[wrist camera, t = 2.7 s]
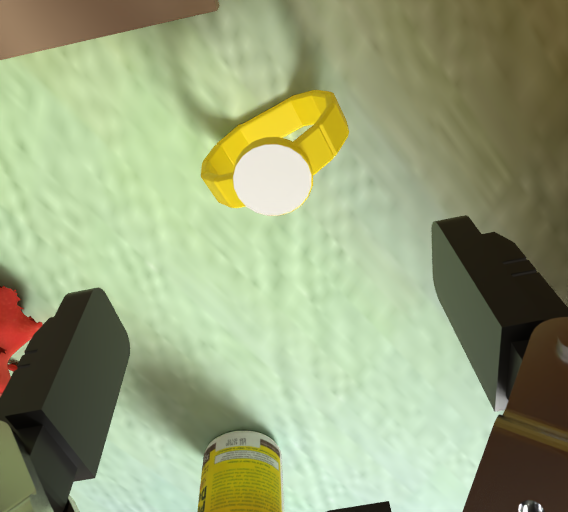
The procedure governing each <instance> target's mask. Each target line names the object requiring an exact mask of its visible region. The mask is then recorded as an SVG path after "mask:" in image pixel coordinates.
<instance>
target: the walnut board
mask: <svg viewBox="0 0 568 512" xmlns="http://www.w3.org/2000/svg"><path fill="white" fill-rule="evenodd" d="M218 8H219V2H218V0H0V60H3V59H7V58H11V57H16V56H20V55H25V54H29V53H33V52H38V51H42V50H46V49H51V48H55V47H60V46H64V45H68V44H73V43H77V42H81V41H86V40H90V39H95V38H99V37H103V36H108V35H112V34H117V33H121V32H125V31H130V30H134V29H138V28H143V27H147V26H152V25H156V24H160V23H165V22H169V21H173V20H178V19H182V18H187V17H191V16H195V15H200V14H204V13H209V12H213V11H217V10H218Z"/></svg>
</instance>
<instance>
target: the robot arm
mask: <svg viewBox="0 0 568 512" xmlns="http://www.w3.org/2000/svg"><path fill="white" fill-rule="evenodd" d="M432 264H433V280H434V286H435V290H436V293H437V296H438V299H439V301H440V303H441V305H442V307H443V309H444V311H445V313H446V315H447V317H448V319H449V321H450V323H451V325H452V327H453V329H454V331H455V333H456V335H457V337H458V339H459V341H460V343H461V345H462V347H463V349H464V351H465V353H466V355H467V357H468V359H469V361H470V363H471V365H472V367H473V369H474V371H475V373H476V375H477V377H478V379H479V381H480V383H481V385H482V387H483V389H484V391H485V393H486V395H487V397H488V399H489V401H490V403H491V405H492V407H493V409H494V411H501V410H505V411H504V414H503V415H498V417H497V419H496V421H495V423H494V425H493V428H492V431H491V433H490V436H489V439H488V442H487V445H486V447H485V450H484V453H483V456H482V459H481V461H480V464H479V467H478V470H477V473H476V475H475V478H474V481H473V484H472V487H471V489H470V492H469V495H468V498H467V501H466V503H465V506H464V509H463V512H568V307H567V306H566V305H565V304H564V303H563V301H562V300H561V299H560V298H559V297H558V295H557V294H556V293H555V292H554V290H553V289H552V288H551V287H550V286H549V284H548V283H547V282H546V281H545V280H544V278H543V277H542V276H541V275H540V274H539V272H538V273H537V272H536V269H535V267H534V266H533V265H532V264H531V263H530V261H529V260H526V257H525V255H524V254H523V253H522V252H521V250H520V249H519V248H518V247H517V246H516V244H515V243H514V242H512V241H510V240H508V239H507V238H505V237H503V236H501V235H499V234H497V233H496V232H491V233H486V234H481V233H480V232H479V230H478V229H477V227H476V226H475V225H474V223H473V222H472V221H471V219H470V218H469V217H468V216H466V215H465V216H460V217H455V218H450V219H445V220H440V221H435V222H433V224H432ZM129 356H130V343H129V338H128V335H127V332H126V330H125V328H124V326H123V325H122V323H121V321H120V319H119V317H118V315H117V314H116V312H115V310H114V308H113V306H112V304H111V302H110V301H109V299H108V297H107V295H106V293H105V292H104V291H103V290H102V289H101V288H93V289H88V290H83V291H78V292H73V293H68V294H66V295H65V297H64V299H63V301H62V302H61V304H60V306H59V308H58V310H57V312H56V314H55V316H54V317H51V318H49V319H48V320H47V321H46V322H45V323H44V324H43V325H42V326H41V327H40V328H39V329H38V331H37V332H36V333H35V334H34V335H33V337H32V339H31V340H30V342H29V344H28V346H27V348H26V350H25V355H22V357H21V359H20V361H19V363H18V365H17V370H15V371H14V372H13V374H12V376H11V378H10V380H9V382H8V384H7V386H6V387H5V389H4V391H3V393H2V395H1V397H0V512H80V511H79V509H78V507H77V505H76V503H75V501H74V500H73V498H72V497H71V496H70V495H69V494H70V491H71V487H72V484H73V482H74V481H80V480H86V479H92V478H95V476H96V473H97V469H98V466H99V462H100V459H101V455H102V452H103V448H104V445H105V441H106V438H107V434H108V431H109V427H110V423H111V420H112V416H113V413H114V409H115V406H116V402H117V399H118V395H119V392H120V388H121V385H122V381H123V377H124V374H125V370H126V367H127V363H128V360H129ZM327 512H391V508H390V504H389V501H386V502H380V503H374V504H368V505H361V506H355V507H349V508H342V509H336V510H330V511H327Z"/></svg>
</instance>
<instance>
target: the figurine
mask: <svg viewBox="0 0 568 512" xmlns="http://www.w3.org/2000/svg"><path fill="white" fill-rule="evenodd" d="M15 291H16V290H14V291H13V290H12V289H10V288H6V287H4V286H3V287H1V286H0V397H1V395H2V393H3V391H4V389H5V387H6V386H7V384H8V382H9V380H10V378H11V377H10V373H9V370H11V371H13V372H14V371H15V370H17V366H16V365H14V364H8V361H9V359H10V357H11V356H12V355H13V354H14V353H15V352H16V351H17V350H18V349H19V348H20V347H22V346H23V345H24V344H25V343H26V342H28V341H29V340H30V339H32V337H33V335H34V334H35V333H36V332H37V331H38V329H39V328H40V327H41V326H42V322H38V323H36V322H35V320H34V319H33V318H32V317H31V316H30V317H27V316H26V315H24V314H23V313H22V311H21V310H20V309H23V308H21V307H19V306H17V302H18V301H19V300H21V299H20V298H19V297H17V293H16V292H15ZM8 369H9V370H8Z"/></svg>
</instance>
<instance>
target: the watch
mask: <svg viewBox="0 0 568 512" xmlns="http://www.w3.org/2000/svg"><path fill="white" fill-rule="evenodd" d="M312 124H314V125H313V126H312V127H310V128H309V129H308V130H307V131H306V132H304V133H303V134H302V135H301V136H299V137H298V138H297V139H296V140H294V141H293V142H292V141H290V140H287V139H284V138H283V137H285V136H287V135H288V134H290V133H292V132H294V131H296V130H298V129H300V128H301V127H303V126H307V125H312ZM237 126H238V127H235V128H234V129H233V130H232V131H231V132H230V133H228V134H227V135H226V136H225V137H224V138H223V139H221V140H220V141H219V142H218V143H217V145H215V146H214V147H213V149H212V150H211V151H210V153H209V154H208V155H207V156H206V158H205V159H204V160H203V163H202V169H201V178H202V179H203V181H204V182H205V184H206V185H207V186H208V188H209V189H210V191H211V192H212V194H213V195H214V196H215V198H216V199H217V201H218V202H219V203H221V204H224V205H226V206H228V207H231V208H240V207H248V208H250V209H251V210H253V211H255V212H256V213H260V214H264V215H268V216H276V215H283V214H287V213H290V212H292V211H294V210H295V209H297V208H298V207H300V206H301V205H302V204H303V203H304V202H305V200H306V199H307V198H308V196H309V194H310V192H311V189H312V186H313V175H315V174H316V173H317V172H318V171H319V170H321V169H322V168H323V167H324V166H325V165H326V164H328V163H329V162H330V161H331V160H332V159H333V157H334V156H336V155H337V153H338V152H339V150H340V148H341V147H342V145H343V144H344V142H345V140H346V139H347V137H348V134H349V129H348V125H347V121H346V119H345V116H344V114H343V112H342V110H341V108H340V106H339V104H338V102H337V99H336V97H335V95H334V93H332V92H328V91H321V90H315V91H314V90H312V91H308V92H304V93H301V94H297V95H293V96H292V97H290V98H288V99H286V100H285V101H283V102H281V103H279V104H277V105H276V106H274V107H272V108H270V109H268V110H267V111H265V112H263V113H261V114H259V115H258V116H256V117H254V118H252V119H251V120H249V121H247V122H245V123H243V124H242V125H241V124H239V125H237Z"/></svg>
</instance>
